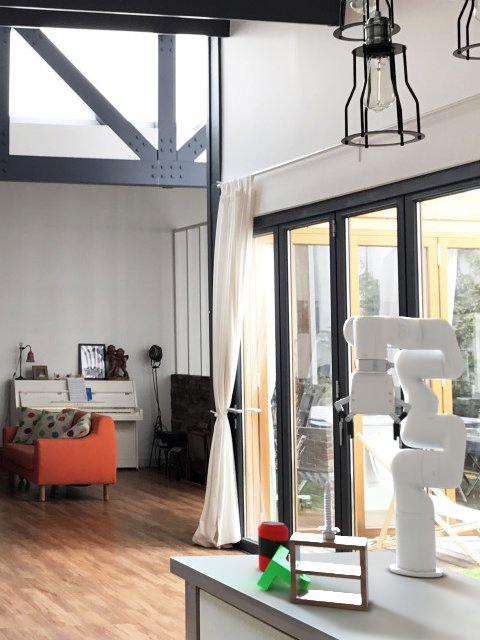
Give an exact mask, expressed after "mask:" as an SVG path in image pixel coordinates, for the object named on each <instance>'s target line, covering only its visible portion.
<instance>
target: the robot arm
mask: <svg viewBox="0 0 480 640" xmlns="http://www.w3.org/2000/svg"><path fill="white" fill-rule="evenodd" d="M342 332H343V337H344V339H345V341H346V342H347V344H348V345H349V346H351V347H353V359H354V360H353V363H354V372H351V375H350V381H349V395H348V396H346V397H344V398H342V399H340V400H338V401H336V402H334V403H333V406H334V408H335V410H336V412H337V413H338V414H339V416H340V417H341V418H343V420H345V421H346V435H347V436H349V439H351V440H353V439H354V438H355V424H354V421H353V418H354V417H355V416H356V415H370V416H372V415H373V416H389V417H390V418H391V419H392V420H393V423H392V434H393V436H392V437H393V441H398V438H400V439H401V442H402V443H403V444H404V445H405V446H406V447H410V448H401V449H398V450H395V451H394V452H393V453H391V455H390V457H389V461H388V464H389V472H390V477H391V481H392V482H391V483H392V489H393V501H394V528H395V529H394V530H395V531H394V533H395V560H396V561H395V562H396V563H393V564H390V565H389V570H390V571H391V573H394V574H397V575H402V576H406V577H415V578H439V577H442V576H443V575H444V570H443V569H442V568H440V567H437V548H436V546H437V545H436V543H437V542H436V520H435V519H436V517H435V515H436V513H435V505H434V502H433V499H432V498H431V496H430V495H429V494H428V492H427V491H426V490H425V488H433V489H442V490H455V489H458V488H459V487H460V486H461V484H462V482H463V478H464V472H465V471H464V470H465V460H466V449H467V438H468V437H467V436H468V435H467V426H466V424H465V422H464V420H463V418H462V417H460V416H459V415H457V414H453V413H438V412H439V403H440V401H439V400H440V399H439V397H438V395H437V394H436V392H435V391H434V390H433V389H432V388H431V387H430V385H428V384H427V383H426V382H425V381H424V380H440V381H441V380H446V381H451V380H458V379H459V378H460V377H461V376H462V375H463V374H464V368H465V361H464V357H463V354H462V351H461V348H460V346H459V342H458V339H457V336H456V333H455V331H454V328H453V327H452V325H451V323H449V321H448V320H447V319H445V318H442V317H407V316H399V315H353V316H350V317H348V318H347V319H346V320H345V322H344V324H343V329H342ZM388 350H398V351H397V352H396V353H395V355H394V362H391V361H389V360H388V358H389V357H388V356H389V355H388ZM392 369H395V371H396V375H397V378H398V381H399V384H400V387H401V389H402V392H403V397H404V400H403V399H401V398H399V397H397V396H396V390H395V383H394V377H393V374H392V372H389V370H392ZM348 403H349V409H350V412H349V414H348V413H347V412H346V411H344V408H343V407H342V406H343V405H346V404H348ZM396 405H399V406H400V407H403V409H402V412H401V413H400V414H399V415H398V414H397V413H396V408H397V407H396ZM400 423H401V424H400Z"/></svg>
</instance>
